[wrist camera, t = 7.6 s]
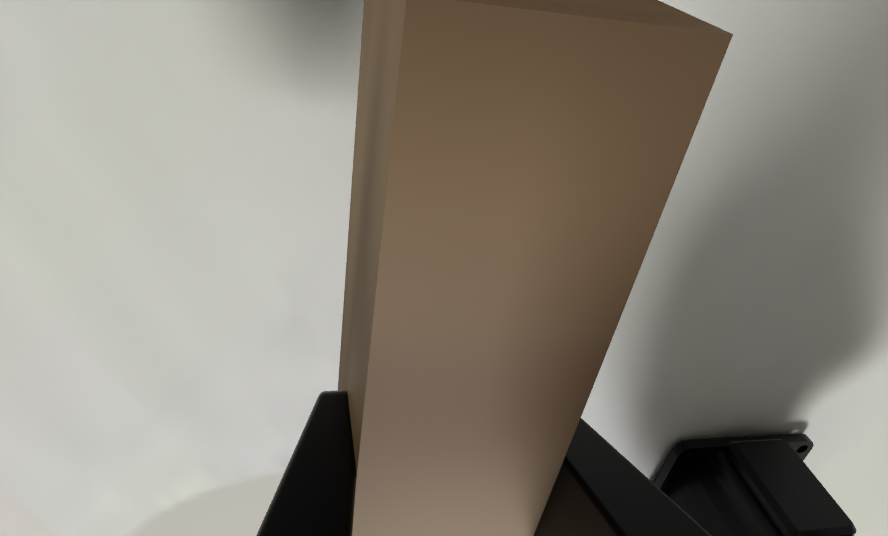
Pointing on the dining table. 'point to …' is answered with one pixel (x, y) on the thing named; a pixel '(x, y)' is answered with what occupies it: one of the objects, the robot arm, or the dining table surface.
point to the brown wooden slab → (500, 239)
